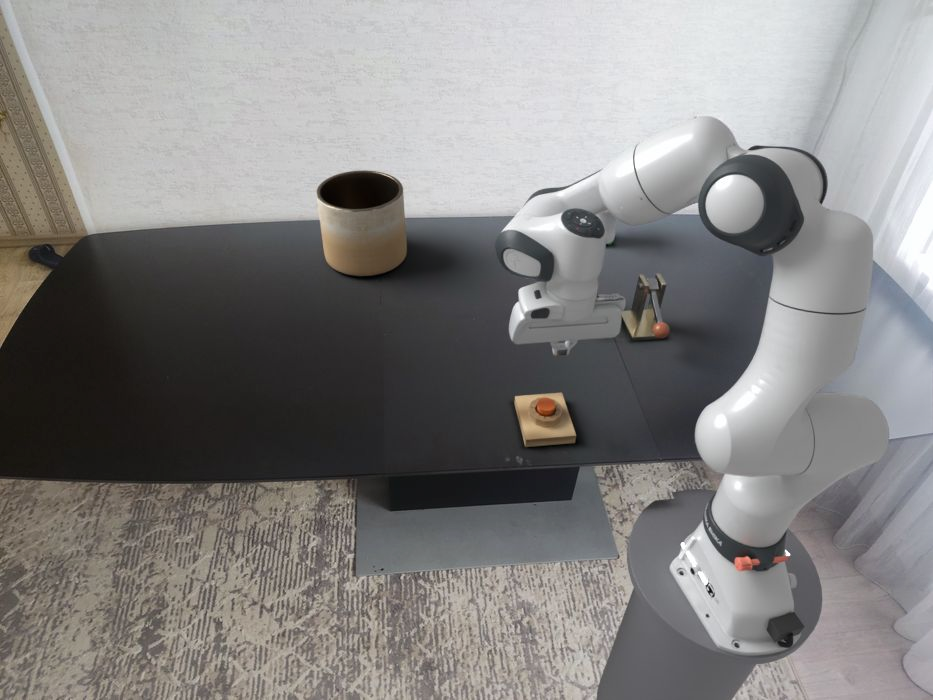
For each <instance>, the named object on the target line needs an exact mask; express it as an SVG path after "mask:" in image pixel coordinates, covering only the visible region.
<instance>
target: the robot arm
mask: <svg viewBox="0 0 933 700" xmlns="http://www.w3.org/2000/svg"><path fill="white" fill-rule="evenodd" d="M828 186H829V181H828V173H827V171H826V169H825V166H824V165H823V163H822V162H821V161H820V159H818V158H817V157H816V156H815V155H814V154H812V153H810V152H808V151H806V150H803V149H802V148H801V149H800V148H798V147H793V146H792V147H791V146H782V145H781V146H780V145H779V146H772V145H760V144H759V145H753V146H750V147H749V148H748V149H745V148H743V147H741V146H740V145H739V143H738V142H737V139H736V137H735V135H734V133H733V132H732V130H731V129H730V128H729V127H728V125H726V124H725V123H724V122H723V121H722V120H720V119H719V118H717V117H714V116H708V115H705V116H704V115H702V116H697V117H695V118H691V119H688V120H685V121H682V122H680V123H676V124H674V125H672V126H669V127H667V128H664V129H662V130H660V131H658V132H656V133H654V134H652V135H650V136H648V137H647V138H645V139H643V140H641V141H639V142H638V143H635V144H633V145H632V146H631V147H629V148H628V149H626V150H625V151H623V152H621V153H620V154H619V155H617V156H616V157H615V158H613V159H612V160H611V161H610V162H609V163H608V164H607V165H606V166H604V167H603V168H601V169H599V170H598V171H595V172H593V173H592V174H590V175H587V176H585V177H583V178H581V179H579V180H577V181H576V182H574V183H571V184H568V185H564V186H559V187H547V188H542V189H538V190H536V191H535V192H533V193H532V194H531V195H530V196H529V197H528V199H526V201H525V203H524V205H523V206H522V207H521V209H520V210H519V211H518V212H517V213H516V214H515V215H514V217H513V218H512V219H510V221H509V222H508V223H507V224H506V226H505V227H504V228H503V229H502V230H501V232H500V233H499V234H498V235H497V237H496V239H495V243H494V248H495V254H496V257H497V259H498V261H499V263H500V265H501V266H502V267H503V268H504V269H505V271H507V272H508V273H510V274H511V275H514V276H516V277H519V278H522V279H526V280H529V281H535V282H534V283H531V284H528V285H525V286H522V287H520V288H519V289H518V292H517V293H518V294H517V295H518V301H517V302H516V303H515V304H514V305H513V307H512V310H511V314H510V318H509V323H508V335H509V338H510V341H511V342H512V343H513V344H514V345H528V344H529V345H530V344H542V343H549V345H550V347H551V350H552V351H551V352H552V355H553V356H554V357H556V356H569V355H570V352H571V350H572V348H574V347H575V346H576V345H577V344H578V341H583V340H584V341H585V340H595V339H596V340H597V339H598V340H599V339H611V338H616V337H618V335H619V334H621V328H622V320H621V312H622V311H625V309H626V308H625V307H626V304H627V300H626V297H624V296H623V295H620V294H619V293H611V294H609V293H608V294H603V293H601V294H598V290H599V276H600V274H601V273H602V272H603V271H602V270H603V267H604V261H605V255H606V249H607V248H606V246H607V244H606V232H605V228H604V225H603V223H602V221H601V220H600V219H599V218H598V217H597V216H596V214H598V213H600V212H603V211H605V210H607V209H608V210H609V212H610V213H611V214H612V215H613V216H614V217H615V218H616V219H618V221H619V222H621V223H623V224H625V225H628V226H631V227H636V226H642V225H647V224H651V223H653V222H656V221H659V220H662V219H664V218H666V217H668V216H671V215H673V214H675V213H677V212H679V211H681V210H683V209H685V208H688V207H690V206H692V205H695V204H697V208H698V209H697V210H698V215H699V218H700V220H701V222H702V224H703V226H704V227H705V228H706V230H707V231H708V232H709V233H710V234H711V235H712V236H714V237H716V238H717V239H719V240H721V241H723V242H725V243H727V244H731V245H733V246H735V247H739V248H742V249H744V250H746V251H748V252H750V253H752V254H754V255H757V256H758V257H767V256H771V257H772V263H773V266H772V267H773V268H772V269H773V270H772V277H771V282H770V287H769V293H768V294H769V295H768V300H767V303H766V304H767V305H766V310H765V315H764V321H763V326H762V330H761V334H760V338H759V341H758V345H757V347H756V350H755V353H754V355H753V357H752V359H751V361H750V363H749V364H748V366H747V367H746V369H745V371H744V372H743V373H742V374H741V376H740V377H739V378H738V380H737V381H736V382H735V383H734V384H733V385H732V386H731V388H729V389H728V391H726V392H725V393H724V394H722V395H721V396H719V398H717V399H716V400H715V401H712V402H711V403H710V404H708V405H706V406H705V407H704V408H703V410H702V411H701V413H700V414H699V416H698V418H697V421H696V423H695V427H694V441H695V446H696V450H697V452H698V454H699V456H700V458H701V459H702V461H703V462H704V463H705V464H706V465H707V467H708V468H709V469H711V471H713V472H714V473H717V474H723V476H722V478H721V481H720V484H719V486H718V488H717V490H716V491H717V492H716V493H715V494H714V495H713V496H712V498H711V499H710V501H709V503H708V504H707V506H706V508H705V512H704V515H703V520H702V522H701V523H700V524H699V526H698V527H697V529H696V530H695V531H694V532H693V533H691V534H690V535H689V536H688V537H687V538H686V539H685V540H684V542H683V543H681V549H680V553H679V555H678V556H677V557H676V558H675V559H674V560H673V562H672V563H671V564H670V567H669V569H670V572H671V573H672V575H673V577H674V578H675V580H676V582H677V583H678V585H679V586H680V588H681V590H682V591H683V593H684V595H685V596H686V598H687V599H688V601H689V603H690V604H691V606H692V608H693V609H694V611H695V612H696V614H697V616H698V617H699V619H700V621H701V622H702V624H703V625H704V627H705V629H706V630H707V632H708V633H709V635H710V637H711V638H712V640H713V642H714V643H715V644H716V646H717V647H718V648H719V649H721V650H724V651H726V652H729V653H732V654H737V655H744V656H759V655H768V654H774V653H778V652H781V651H784V650H786V649H788V648H790V647H792V646H793V645H794V644H795V643H796V642H797V641H798V640H799V638H800V636H801V631H802V630H803V628H804V627H805V626H804V625H803V624H802V622H801V621H800V619H799V618H798V616H797V615H796V614H795V612H794V601H793V596H792V591H791V589H794V588H796V586H797V579H796V576H795V575H794V574H792V573H787V568H786V564H785V561H787V560H788V559H787V558H789V556H790V554H789V553H788V552H787V551H786V550H785V542H786V538H787V528H788V529H789V527H790V525H791V524H792V522H793V521H794V520H795V518H796V516H797V515H798V513H799V512H800V511H801V510H802V509H803V508H804V507H805V506H806V505H807V504H808V503H809V502H811V501H812V500H813V499H814V498H816V497H817V496H819V495H820V494H821V493H822V492H824V491H826V490H827V489H828V488H829V487H831V486H832V485H834V484H835V483H836V482H838V481H840V480H841V479H843V478H845V477H846V476H848V475H849V474H851V473H852V474H853V472H856V471H858V470H860V469H862V468H864V467H865V468H866V467H867V466H869V465H872V464H874V463H877V462H878V461H879V460H880V459H882V458H883V456H884V455H885V453H886V450H887V448H888V446H889V441H890V427H889V422H888V420H887V417H886V416H885V414H884V413H883V411H882V409H881V408H880V406H878V404H877V403H875V402H874V401H873V399H870V398H869V397H867V396H863V395H856V394H851V393H846V392H845V393H844V392H837V391H822V392H821V391H820V390H821V389H823V387H825V386H826V385H828V384H829V383H831V382H833V381H834V380H836V379H838V378H839V377H841V376H842V375H843V374H845V373H846V372H848V370H849V369H850V367H851V366H852V365H853V363H854V361H855V358H856V353H857V351H858V345H859V341H860V337H861V334H862V328H863V324H864V319H865V315H866V311H867V307H868V302H869V297H870V291H871V284H872V277H873V266H874V236H873V231H872V228H871V227H870V226H869V224H868V223H867V222H866V221H865V220H864V219H862V218H861V217H859V216H857V215H855V214H852V213H849V212H846V211H842V210H837V209H836V210H835V209H830V208H827V207H825V206H823V204H824V201H825V199H826V196H827V193H828ZM679 573H681V574H683V576H682V575H680V574H679ZM784 639H786V640H787V642H785V641H784ZM734 645H737V646H738V647H739V648H736V647H735V646H734Z"/></svg>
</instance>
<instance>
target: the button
mask: <svg viewBox="0 0 933 700" xmlns="http://www.w3.org/2000/svg"><path fill="white" fill-rule="evenodd" d="M554 411H555V402H554V401H553V400H551V399H549V398H542V399H540V400H539V401H538V402H537V413H538V414H539V415H541V416H544V417H549V416H552V415H553V414H554Z"/></svg>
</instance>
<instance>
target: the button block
mask: <svg viewBox="0 0 933 700" xmlns="http://www.w3.org/2000/svg"><path fill="white" fill-rule="evenodd" d="M542 398H549V399H551V400H553V401H554V402H555V411H554V414H553V415H552V416H549V417H544V416H541V415H539V414H538V413H537V402H538V401H539V400H540V399H542ZM514 407H515V411H516V415H517V420H518V424H519V428H520V432H521V435H522V439H523V443H524V447H525V448H530V447H542V446H554V445H565V444H575V443H576V439H577V434H576V430H575V427H574V424H573V422H572V418H571V415H570V413H569V409H568V406H567V404H566V400H565V397H564V394H563V392H550V393H540V394H539V393H538V394H537V393H536V394H525V395H515V396H514Z"/></svg>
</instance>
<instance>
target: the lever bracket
mask: <svg viewBox="0 0 933 700" xmlns="http://www.w3.org/2000/svg"><path fill="white" fill-rule="evenodd" d="M654 278H656V279H657V283H658V287H659V289H658V290H657V292H656V295H657V299H658V304H659V308H660V309H661V306H662V303H663V299H664V295H665V293H666V288H667V282H666V281H665V279H664V277H663V276H662V274H661V273H655V275H654ZM646 279H647V278H646V277H645V275H644V274H639V275H638V279H637V283H636V287H635V291H634V296H633V298H632V299H633V300H632V304H631V309H630V310H623V311H622V312H621V323H622V325H623V326H624V329H625V331H626V333H627V334H628V337H629V339H630V341H631V342H639V341H640V342H641V341H653V340H665V338H658V337H656V336H655V335H654V333H653V327H654V325H655V324H656V319H655V315H654V310H653V306H652V301H651V297H650V296H649V300H648V304H647V306H646V301H647V298H648V295H649V294H648V290H649V284H648V282H647V280H646ZM645 306H646V307H647V308H646V309H645Z"/></svg>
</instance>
